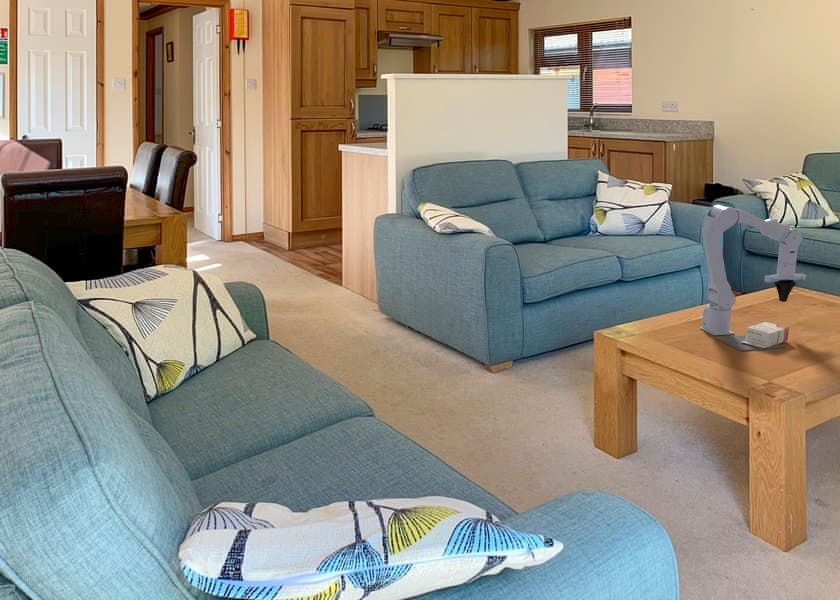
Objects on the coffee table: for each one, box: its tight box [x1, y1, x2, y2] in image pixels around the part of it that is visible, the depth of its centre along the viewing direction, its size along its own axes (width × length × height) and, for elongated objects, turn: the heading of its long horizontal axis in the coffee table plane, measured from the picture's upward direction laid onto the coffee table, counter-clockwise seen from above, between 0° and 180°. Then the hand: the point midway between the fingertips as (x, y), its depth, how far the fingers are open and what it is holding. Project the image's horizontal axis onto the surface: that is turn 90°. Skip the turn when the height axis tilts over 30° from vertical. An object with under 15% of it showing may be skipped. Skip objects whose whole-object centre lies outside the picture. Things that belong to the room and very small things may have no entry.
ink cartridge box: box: [741, 321, 790, 348], centre depth 255 cm, size 9×5×15 cm
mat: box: [716, 334, 785, 352], centre depth 255 cm, size 14×16×1 cm
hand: (782, 301), depth 267 cm, fingers closed
